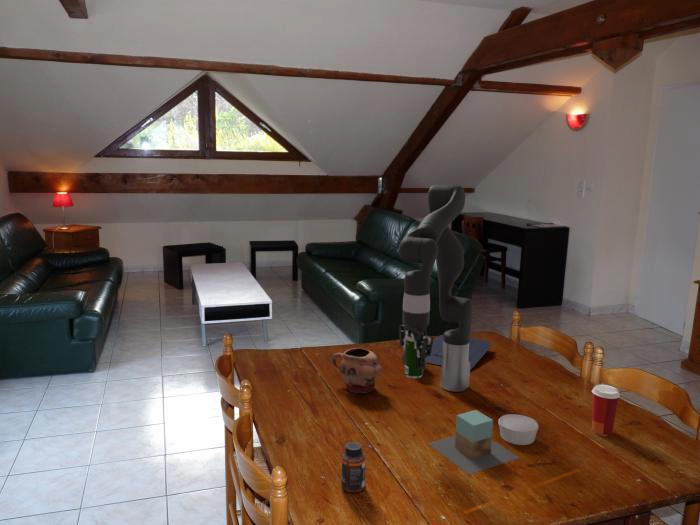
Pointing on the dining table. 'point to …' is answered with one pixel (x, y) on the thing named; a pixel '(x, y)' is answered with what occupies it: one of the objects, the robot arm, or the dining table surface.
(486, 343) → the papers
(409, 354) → the beer can
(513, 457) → the mat
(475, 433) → the tower top
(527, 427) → the ramekin
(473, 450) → the tower base
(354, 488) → the supplement bottle
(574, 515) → the dining table surface
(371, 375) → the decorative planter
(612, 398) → the paper cup
